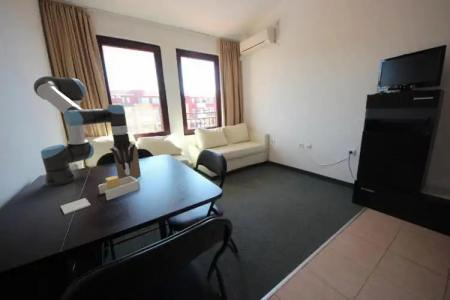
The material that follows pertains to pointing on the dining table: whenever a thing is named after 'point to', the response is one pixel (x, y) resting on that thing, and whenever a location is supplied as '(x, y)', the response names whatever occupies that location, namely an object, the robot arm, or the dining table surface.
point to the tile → (75, 206)
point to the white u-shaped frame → (120, 187)
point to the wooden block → (134, 165)
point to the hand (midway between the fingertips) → (127, 174)
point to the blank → (112, 182)
